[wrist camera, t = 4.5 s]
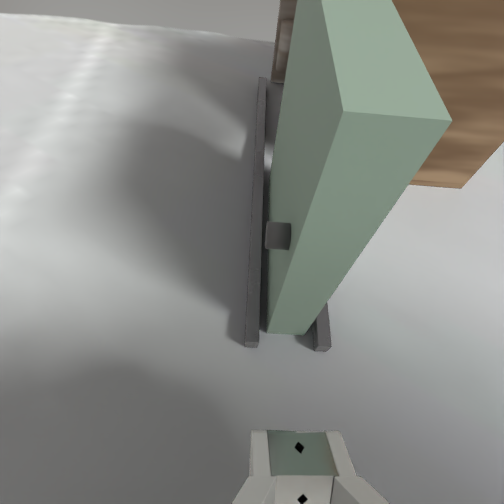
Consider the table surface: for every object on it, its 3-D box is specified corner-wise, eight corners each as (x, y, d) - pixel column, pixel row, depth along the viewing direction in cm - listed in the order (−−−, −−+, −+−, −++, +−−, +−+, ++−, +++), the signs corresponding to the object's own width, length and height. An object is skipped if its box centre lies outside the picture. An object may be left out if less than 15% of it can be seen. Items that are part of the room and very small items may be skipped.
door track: (326, 351, 20) (331, 346, 19) (244, 346, 20) (245, 341, 19) (303, 91, 36) (305, 81, 35) (258, 87, 36) (259, 77, 35)
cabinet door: (303, 335, 20) (452, 120, 7) (251, 332, 20) (299, 107, 7) (295, 172, 29) (356, -71, 15) (258, 169, 29) (286, -78, 15)
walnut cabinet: (461, 188, 29) (786, -170, 12) (269, 173, 28) (331, -228, 11) (418, 91, 38) (572, -195, 21) (270, 78, 37) (307, -229, 20)
